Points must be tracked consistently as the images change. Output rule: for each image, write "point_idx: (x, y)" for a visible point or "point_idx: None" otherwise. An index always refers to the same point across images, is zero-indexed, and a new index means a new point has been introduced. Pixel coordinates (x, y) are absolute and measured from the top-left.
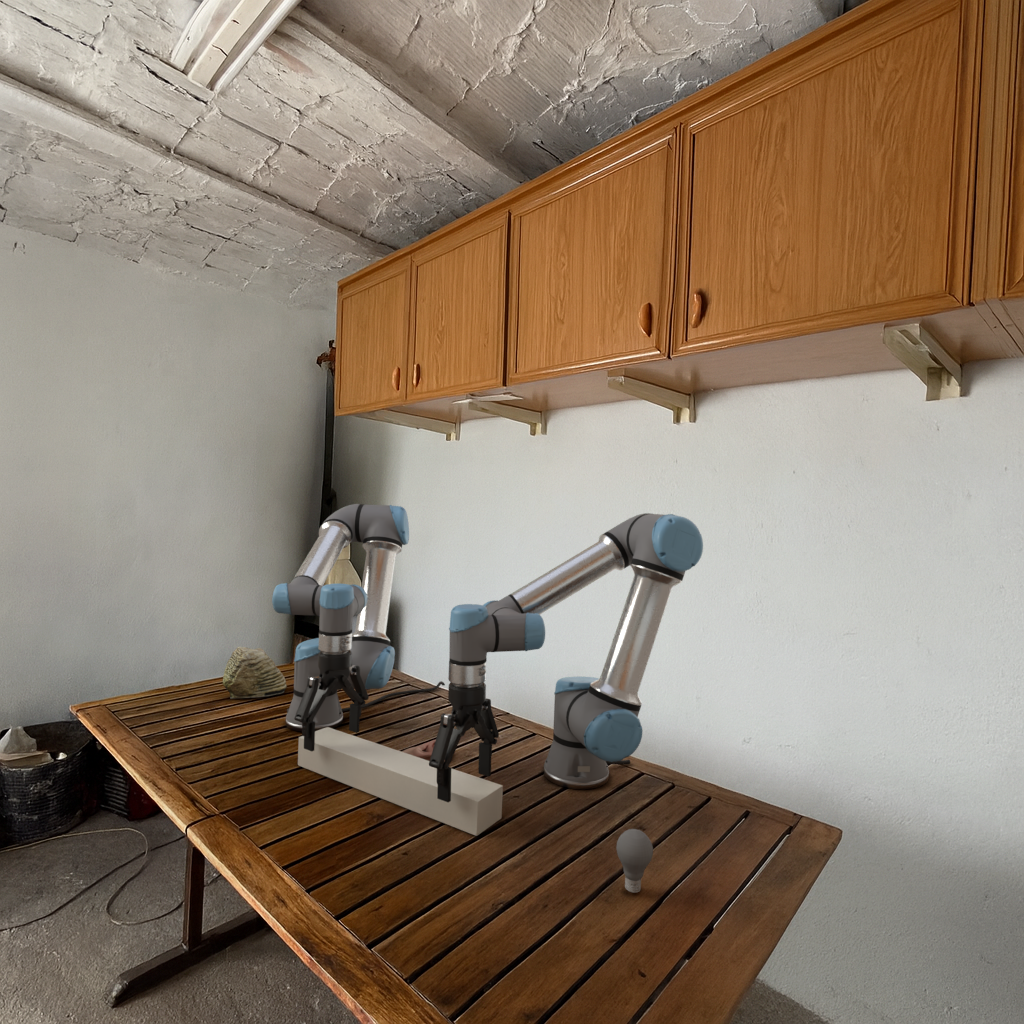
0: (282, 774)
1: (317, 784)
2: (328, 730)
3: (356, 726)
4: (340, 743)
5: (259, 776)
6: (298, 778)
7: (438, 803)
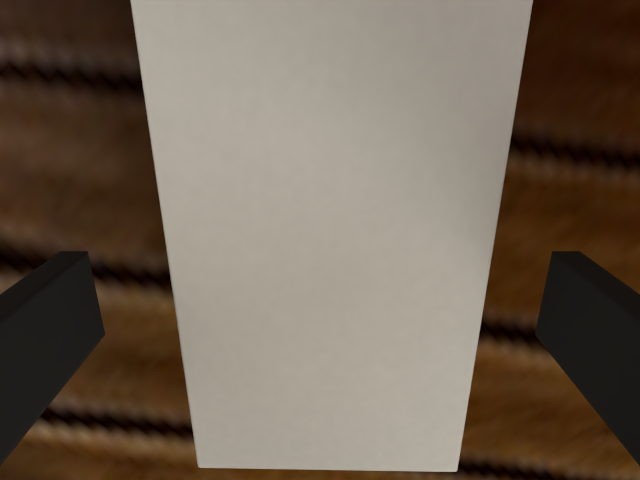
0: (534, 327)
1: (544, 98)
2: (238, 421)
3: (58, 283)
4: (366, 161)
5: None
6: (533, 237)
7: None
